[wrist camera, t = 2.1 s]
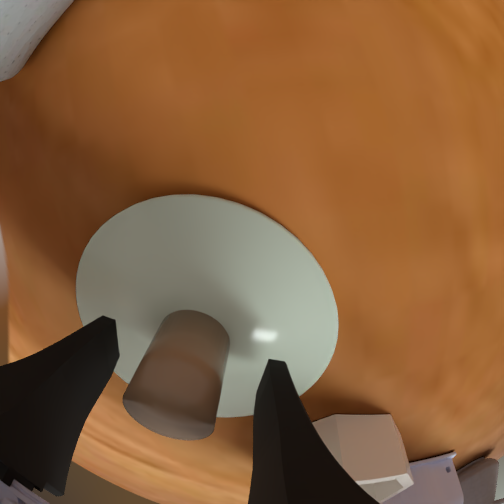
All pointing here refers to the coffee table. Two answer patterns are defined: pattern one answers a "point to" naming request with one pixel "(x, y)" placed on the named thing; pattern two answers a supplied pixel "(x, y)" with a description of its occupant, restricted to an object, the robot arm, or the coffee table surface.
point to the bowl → (368, 452)
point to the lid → (204, 308)
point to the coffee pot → (479, 481)
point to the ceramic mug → (24, 30)
